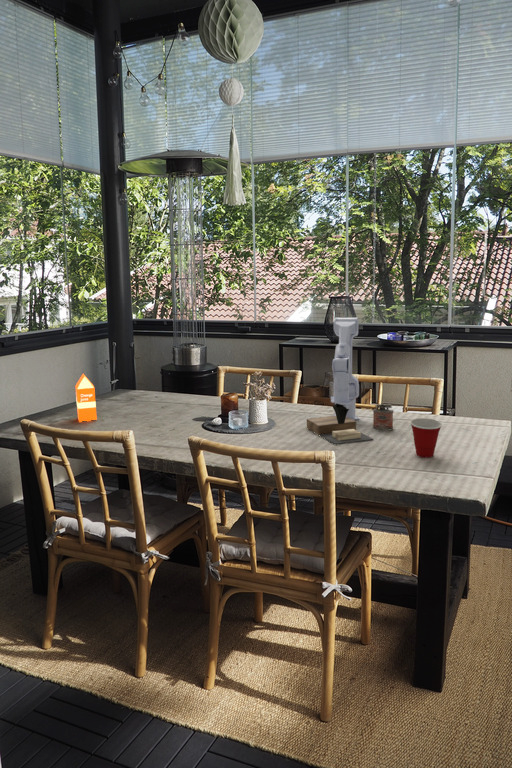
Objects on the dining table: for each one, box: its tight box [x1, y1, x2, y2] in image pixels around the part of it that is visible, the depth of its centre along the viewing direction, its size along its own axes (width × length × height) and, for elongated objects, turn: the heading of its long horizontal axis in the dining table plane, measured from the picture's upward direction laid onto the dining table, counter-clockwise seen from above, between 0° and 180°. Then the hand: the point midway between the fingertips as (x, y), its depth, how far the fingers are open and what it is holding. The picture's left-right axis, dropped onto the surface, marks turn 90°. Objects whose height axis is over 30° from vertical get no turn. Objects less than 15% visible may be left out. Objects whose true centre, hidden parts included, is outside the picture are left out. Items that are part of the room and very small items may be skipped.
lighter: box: [372, 403, 394, 430], centre depth 266 cm, size 8×3×10 cm, turn 70°
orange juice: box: [75, 373, 98, 423], centre depth 292 cm, size 8×9×20 cm
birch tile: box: [332, 429, 362, 440], centre depth 254 cm, size 6×9×2 cm, turn 108°
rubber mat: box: [318, 431, 374, 445], centre depth 255 cm, size 14×16×1 cm
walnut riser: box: [306, 415, 357, 436], centre depth 266 cm, size 12×16×4 cm
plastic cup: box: [409, 417, 443, 459], centre depth 229 cm, size 11×11×12 cm
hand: (341, 423), depth 257 cm, fingers closed
